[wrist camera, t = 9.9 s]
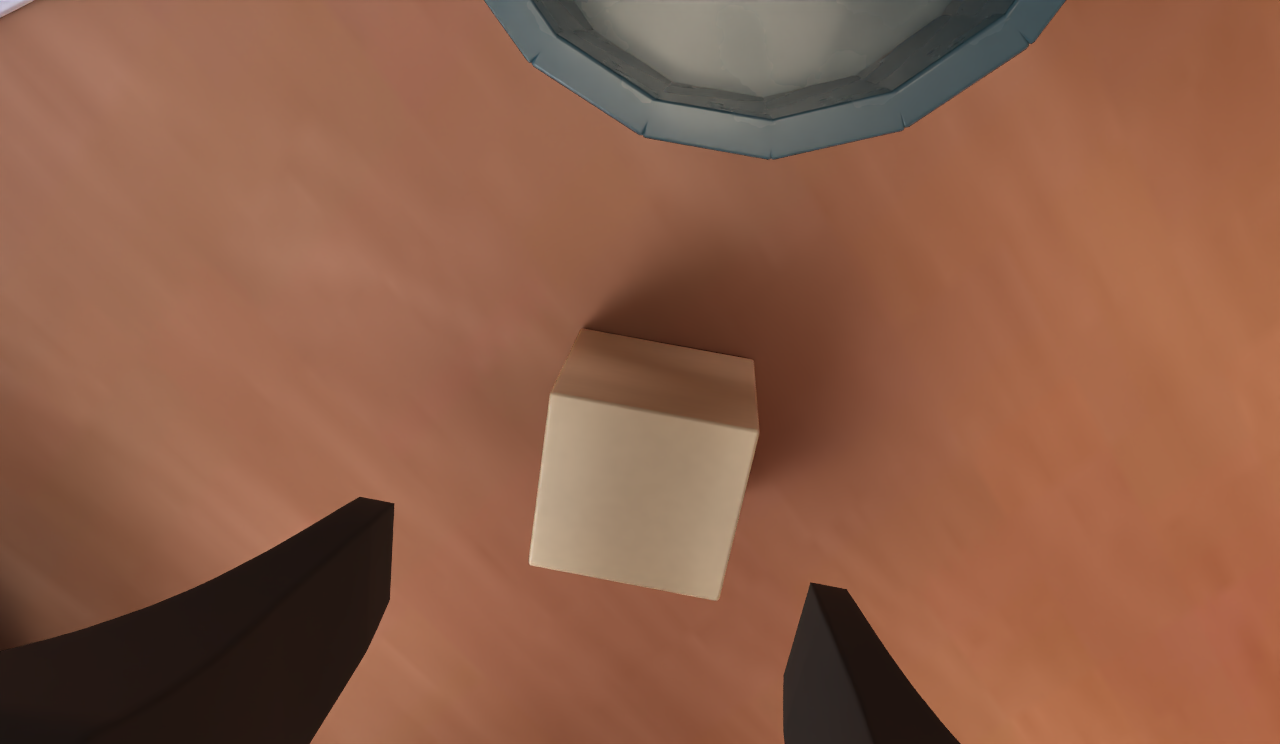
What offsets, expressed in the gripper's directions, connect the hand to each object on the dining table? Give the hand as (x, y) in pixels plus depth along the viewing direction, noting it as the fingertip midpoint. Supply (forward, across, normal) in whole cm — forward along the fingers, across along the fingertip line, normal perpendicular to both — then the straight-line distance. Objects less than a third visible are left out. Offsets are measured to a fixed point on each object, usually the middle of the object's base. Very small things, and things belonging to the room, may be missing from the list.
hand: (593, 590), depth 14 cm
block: (+9, 0, +1) cm, 9 cm away
